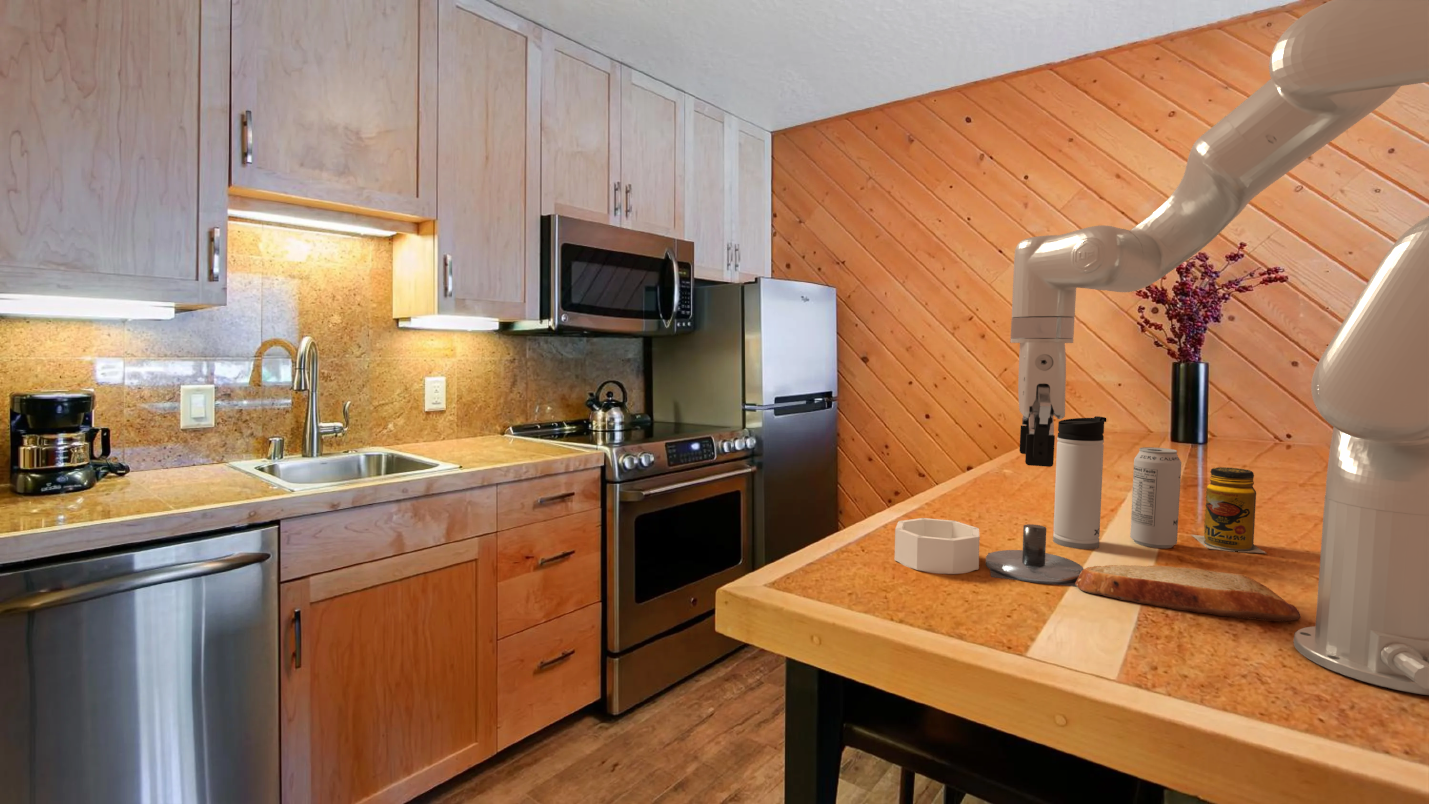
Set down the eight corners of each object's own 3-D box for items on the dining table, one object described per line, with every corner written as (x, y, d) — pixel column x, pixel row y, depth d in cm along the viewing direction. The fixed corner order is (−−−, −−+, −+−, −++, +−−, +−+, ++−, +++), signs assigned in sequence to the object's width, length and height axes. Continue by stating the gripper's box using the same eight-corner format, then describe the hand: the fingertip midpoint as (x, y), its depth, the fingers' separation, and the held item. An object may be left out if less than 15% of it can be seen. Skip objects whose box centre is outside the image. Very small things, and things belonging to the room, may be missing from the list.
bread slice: (1061, 583, 84) (1063, 554, 84) (1160, 569, 90) (1162, 542, 90) (1209, 643, 67) (1212, 607, 67) (1318, 620, 74) (1321, 588, 73)
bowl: (978, 580, 86) (980, 543, 86) (892, 570, 90) (892, 534, 90) (977, 556, 97) (978, 522, 96) (899, 548, 101) (900, 516, 100)
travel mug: (1109, 551, 99) (1116, 418, 98) (1065, 551, 99) (1071, 418, 98) (1087, 539, 105) (1092, 414, 104) (1045, 539, 105) (1050, 414, 104)
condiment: (1208, 550, 100) (1213, 471, 99) (1190, 535, 108) (1194, 463, 107) (1267, 555, 98) (1272, 474, 97) (1244, 539, 106) (1248, 465, 105)
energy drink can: (1184, 552, 99) (1190, 453, 98) (1141, 550, 100) (1146, 452, 98) (1164, 541, 105) (1169, 447, 103) (1123, 539, 106) (1127, 446, 104)
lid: (1091, 589, 82) (1093, 543, 82) (987, 577, 86) (988, 533, 86) (1076, 560, 93) (1077, 520, 93) (984, 551, 98) (985, 513, 97)
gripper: (1084, 330, 78) (1076, 473, 80) (1064, 333, 94) (1057, 452, 96) (1015, 330, 81) (1008, 468, 82) (1007, 333, 97) (1001, 448, 98)
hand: (1035, 459), depth 89 cm, fingers open, 9 cm apart
